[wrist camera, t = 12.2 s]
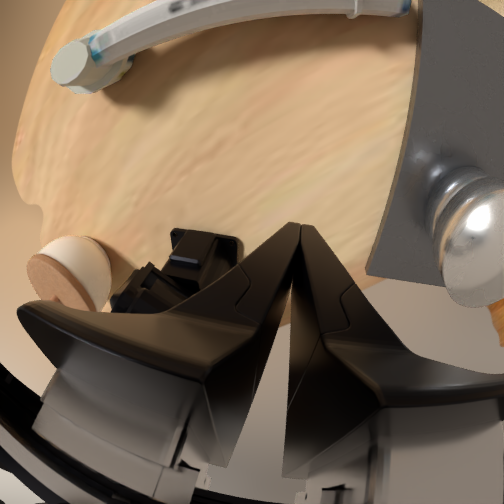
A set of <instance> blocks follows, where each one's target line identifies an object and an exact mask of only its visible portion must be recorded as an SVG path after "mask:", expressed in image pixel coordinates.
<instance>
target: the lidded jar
mask: <svg viewBox="0 0 504 504" xmlns="http://www.w3.org/2000/svg"><path fill="white" fill-rule="evenodd" d="M110 268H111V265H110V260H109V258H108V256H107V254H106V252H105V251H104V249H103V248H102V247H101V246H100V245H99V244H98V243H97V242H96V241H94V240H93V239H91V238H89V237H86V236H75V235H67V236H63V237H59V238H57V239H55V240H53V241H52V242H50V243H49V244H47V245H46V246H44V247H43V248H42V249H41V250H40V251H39V252H38V253H37V254H36V255H34V256H32V257H31V258H30V260H29V261H28V263H27V273H28V277H29V280H30V282H31V284H32V286H33V288H34V290H35V291H36V293H37V294H38V296H39V297H40V298H41V300H51V301H54V302H57V303H60V304H62V305H64V306H67V307H70V308H73V309H78V310H84V311H92V312H101V311H102V309H103V307H104V306H105V304H106V302H107V299H108V297H109V294H110V290H111V282H112V277H111V270H110Z"/></svg>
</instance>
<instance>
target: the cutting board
mask: <svg viewBox="0 0 504 504" xmlns="http://www.w3.org/2000/svg"><path fill="white" fill-rule="evenodd" d="M484 177H496V178H500V179H502V180H504V17H503V16H501V15H500V14H498V13H497V12H495V11H494V10H492V9H491V8H489V7H488V6H486V5H484V4H483V3H481V2H479V1H478V0H418V30H417V46H416V58H415V68H414V77H413V84H412V91H411V98H410V104H409V110H408V116H407V121H406V127H405V132H404V137H403V141H402V146H401V150H400V155H399V159H398V163H397V167H396V171H395V175H394V179H393V183H392V186H391V190H390V194H389V197H388V201H387V204H386V207H385V211H384V214H383V217H382V220H381V223H380V227H379V230H378V233H377V236H376V239H375V242H374V244H373V247H372V250H371V253H370V256H369V259H368V261H367V264H366V267H365V270H366V275H371V276H377V277H383V278H390V279H396V280H403V281H409V282H416V283H422V284H429V285H435V286H442V287H446V286H445V284H444V281H443V279H442V277H441V274H440V272H439V270H438V268H437V266H436V263H435V261H434V257H433V253H432V239H433V233H434V229H435V226H436V223H437V221H438V218H439V216H440V214H441V212H442V210H443V209H444V207H445V206H446V204H447V203H448V202H449V200H450V199H451V198H452V197H453V196H454V195H455V194H456V193H457V192H458V191H459V190H460V189H461V188H463V187H464V186H465V185H467V184H469V183H470V182H472V181H474V180H477V179H480V178H484Z"/></svg>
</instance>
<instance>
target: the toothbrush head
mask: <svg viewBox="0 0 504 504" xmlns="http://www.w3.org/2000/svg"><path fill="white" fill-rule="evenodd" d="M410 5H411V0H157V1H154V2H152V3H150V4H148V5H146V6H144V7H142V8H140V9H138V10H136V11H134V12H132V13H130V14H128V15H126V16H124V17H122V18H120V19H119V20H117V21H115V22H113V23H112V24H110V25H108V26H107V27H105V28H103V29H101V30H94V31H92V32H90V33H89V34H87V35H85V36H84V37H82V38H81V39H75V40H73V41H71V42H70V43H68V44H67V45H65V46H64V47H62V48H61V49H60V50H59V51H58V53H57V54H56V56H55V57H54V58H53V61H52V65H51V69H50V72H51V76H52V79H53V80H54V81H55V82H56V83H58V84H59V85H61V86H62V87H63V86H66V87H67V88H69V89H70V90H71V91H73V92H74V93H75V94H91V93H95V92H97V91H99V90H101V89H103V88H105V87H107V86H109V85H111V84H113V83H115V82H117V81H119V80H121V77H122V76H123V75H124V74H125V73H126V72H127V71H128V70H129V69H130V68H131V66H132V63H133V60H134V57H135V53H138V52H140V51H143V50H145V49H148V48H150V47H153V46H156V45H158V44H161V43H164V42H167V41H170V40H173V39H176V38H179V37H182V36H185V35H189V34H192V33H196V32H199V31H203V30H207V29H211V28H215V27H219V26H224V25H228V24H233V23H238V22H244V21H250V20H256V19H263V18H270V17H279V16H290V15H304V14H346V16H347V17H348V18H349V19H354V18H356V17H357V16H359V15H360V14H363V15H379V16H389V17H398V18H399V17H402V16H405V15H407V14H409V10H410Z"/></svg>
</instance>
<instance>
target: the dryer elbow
mask: <svg viewBox="0 0 504 504" xmlns="http://www.w3.org/2000/svg"><path fill="white" fill-rule="evenodd" d="M432 253H433V257H434V261H435V263H436V266H437V268H438V270H439V272H440V274H441V277H442V279H443V281H444V284H445V286H446V288H447V291H448V293H449V295H450V297H451V298H452V299H453V300H454V301H455V302H456V303H458V304H460V305H462V306H465V307H471V308H473V307H483V306H487V305H490V304H493V303H495V302H497V301H499V300H501V299H502V298H504V180H502V179H500V178H496V177H484V178H480V179H477V180H474V181H472V182H470V183H469V184H467V185H465V186H464V187H463V188H461V189H460V190H459V191H458V192H457V193H456V194H455V195H454V196H453V197H452V198H451V199H450V200H449V202H448V203H447V204H446V206H445V207H444V209H443V210H442V212H441V214H440V216H439V218H438V221H437V223H436V226H435V229H434V233H433V239H432Z"/></svg>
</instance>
